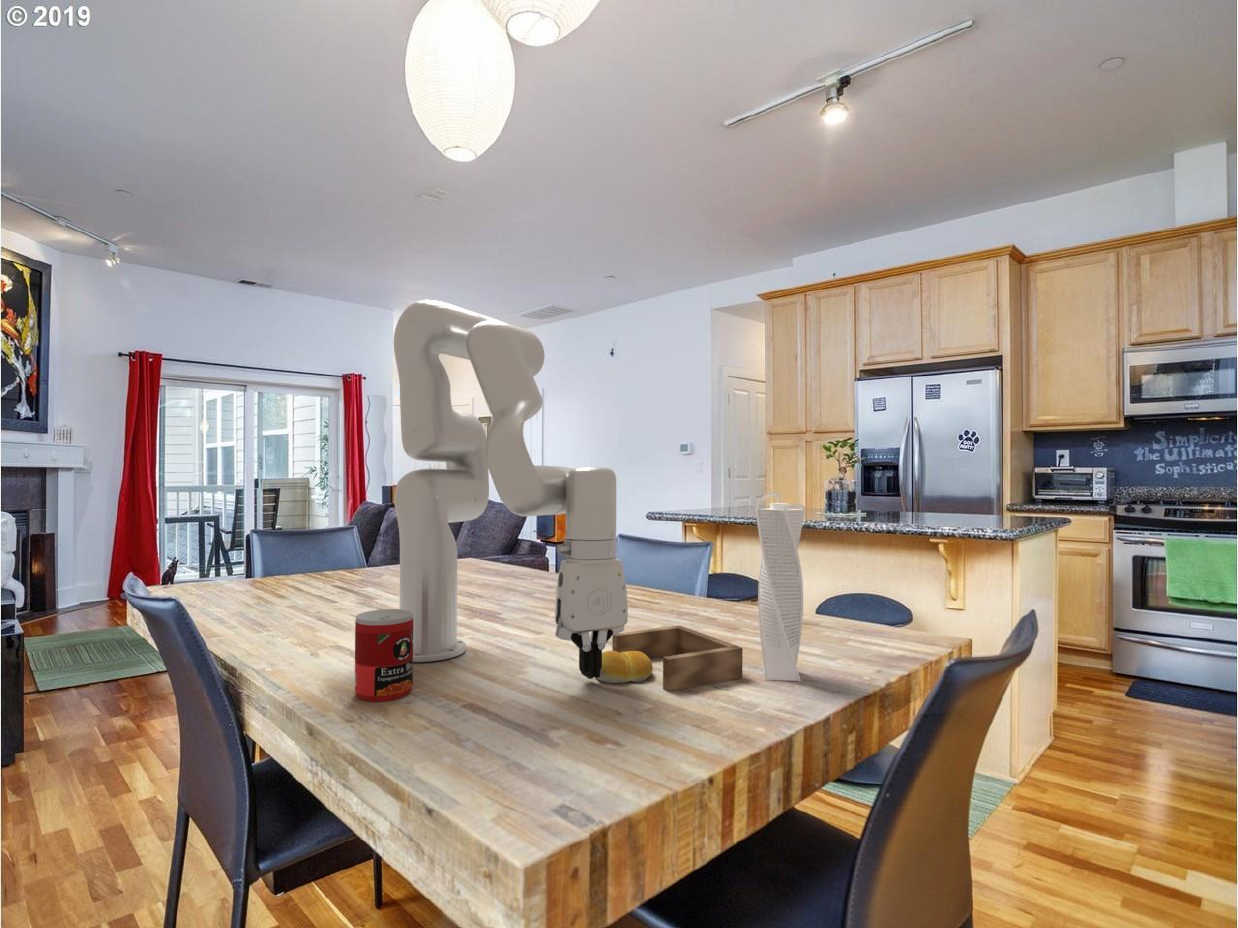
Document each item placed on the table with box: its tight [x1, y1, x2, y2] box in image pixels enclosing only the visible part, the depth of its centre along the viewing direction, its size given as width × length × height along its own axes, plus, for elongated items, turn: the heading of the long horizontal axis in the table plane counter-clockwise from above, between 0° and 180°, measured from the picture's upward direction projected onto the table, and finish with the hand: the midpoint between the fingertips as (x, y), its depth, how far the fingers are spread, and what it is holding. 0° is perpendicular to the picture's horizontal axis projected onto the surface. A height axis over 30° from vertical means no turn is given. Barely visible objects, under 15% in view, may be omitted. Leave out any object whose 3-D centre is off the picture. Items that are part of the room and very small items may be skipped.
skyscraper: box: [754, 492, 806, 682], centre depth 100 cm, size 8×8×28 cm
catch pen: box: [611, 625, 743, 692], centre depth 102 cm, size 13×17×4 cm
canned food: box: [354, 608, 414, 703], centre depth 91 cm, size 8×8×11 cm
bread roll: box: [596, 650, 654, 684], centre depth 99 cm, size 8×9×4 cm
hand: (590, 675), depth 95 cm, fingers closed
